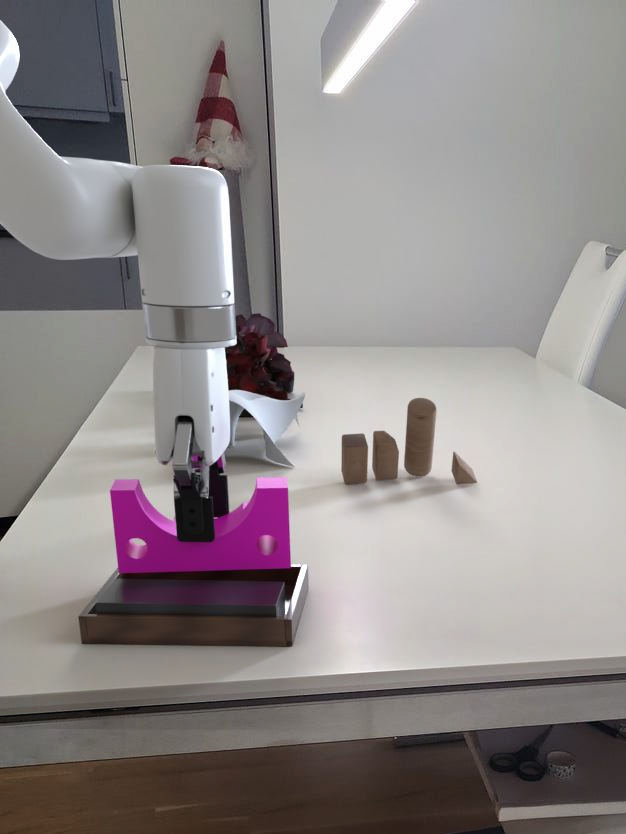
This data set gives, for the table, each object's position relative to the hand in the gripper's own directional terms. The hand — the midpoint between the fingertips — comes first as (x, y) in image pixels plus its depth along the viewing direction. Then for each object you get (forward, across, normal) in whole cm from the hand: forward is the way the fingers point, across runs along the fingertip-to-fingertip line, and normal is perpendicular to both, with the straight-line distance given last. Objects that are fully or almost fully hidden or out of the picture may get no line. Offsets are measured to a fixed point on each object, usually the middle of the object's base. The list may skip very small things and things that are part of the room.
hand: (204, 526), depth 94 cm
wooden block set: (+8, -48, +18) cm, 52 cm away
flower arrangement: (+7, -102, -12) cm, 103 cm away
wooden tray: (+7, +3, 0) cm, 8 cm away
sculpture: (+8, -65, -7) cm, 66 cm away
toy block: (+3, 0, 0) cm, 3 cm away
